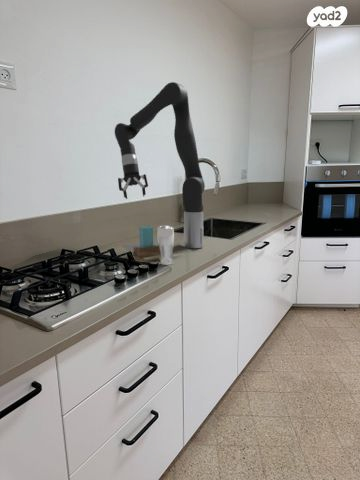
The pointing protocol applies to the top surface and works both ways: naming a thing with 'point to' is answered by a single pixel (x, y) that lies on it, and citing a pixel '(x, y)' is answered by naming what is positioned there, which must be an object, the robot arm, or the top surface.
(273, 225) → the top surface
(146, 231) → the teal block
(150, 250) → the walnut bracket
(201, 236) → the robot arm
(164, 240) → the beer glass
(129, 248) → the pad
